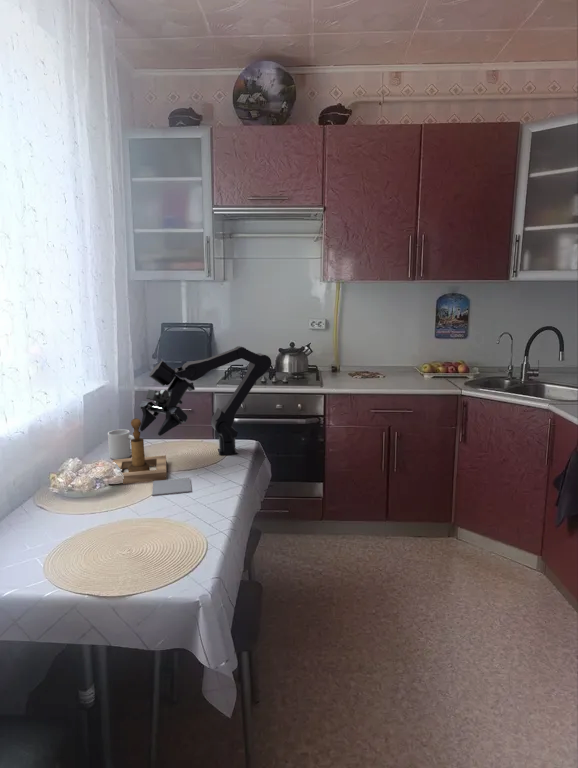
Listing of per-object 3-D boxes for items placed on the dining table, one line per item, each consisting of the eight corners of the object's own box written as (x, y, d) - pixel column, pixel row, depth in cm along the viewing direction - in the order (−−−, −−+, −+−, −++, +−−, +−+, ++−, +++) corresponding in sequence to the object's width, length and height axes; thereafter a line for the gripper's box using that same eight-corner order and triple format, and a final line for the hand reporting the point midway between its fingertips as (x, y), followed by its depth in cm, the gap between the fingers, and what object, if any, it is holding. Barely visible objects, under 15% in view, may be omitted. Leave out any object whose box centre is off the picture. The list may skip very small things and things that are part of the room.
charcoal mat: (153, 482, 159) (153, 481, 159) (189, 478, 161) (189, 477, 161) (152, 495, 148) (152, 494, 148) (191, 492, 151) (191, 490, 151)
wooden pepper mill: (138, 478, 162) (134, 422, 159) (124, 474, 166) (120, 419, 162) (154, 471, 168) (150, 417, 165) (140, 468, 171) (136, 415, 168)
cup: (114, 453, 188) (112, 429, 186) (141, 453, 187) (140, 429, 185) (106, 459, 180) (104, 435, 179) (134, 460, 180) (132, 435, 178)
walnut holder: (114, 466, 173) (113, 459, 173) (166, 462, 177) (165, 455, 176) (108, 485, 157) (108, 477, 156) (166, 479, 161) (166, 472, 160)
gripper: (142, 377, 175) (116, 415, 169) (179, 382, 164) (153, 423, 158) (161, 396, 183) (137, 433, 176) (198, 402, 172) (174, 442, 165)
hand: (149, 432), depth 169 cm, fingers open, 9 cm apart
